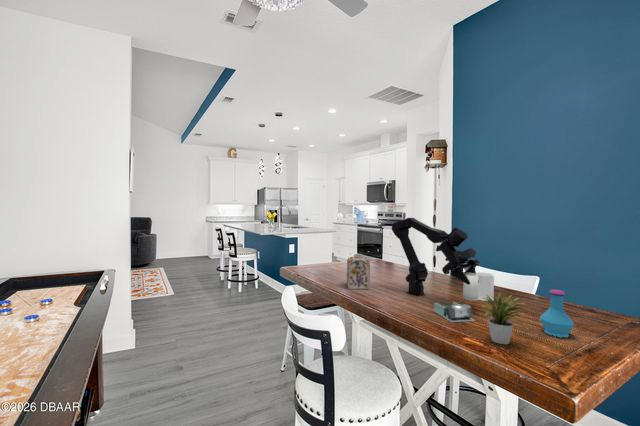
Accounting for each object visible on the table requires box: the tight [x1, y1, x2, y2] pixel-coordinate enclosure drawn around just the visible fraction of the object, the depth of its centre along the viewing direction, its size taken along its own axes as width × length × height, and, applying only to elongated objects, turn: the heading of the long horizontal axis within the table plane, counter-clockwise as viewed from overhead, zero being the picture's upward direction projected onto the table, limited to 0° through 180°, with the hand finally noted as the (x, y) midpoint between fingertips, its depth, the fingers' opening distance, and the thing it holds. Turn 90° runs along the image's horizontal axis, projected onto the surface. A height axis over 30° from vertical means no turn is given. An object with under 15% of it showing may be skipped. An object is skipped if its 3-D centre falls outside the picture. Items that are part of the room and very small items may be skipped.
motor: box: [432, 301, 475, 323], centre depth 120 cm, size 13×10×6 cm
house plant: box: [481, 290, 529, 345], centre depth 96 cm, size 14×14×16 cm
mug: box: [476, 271, 495, 302], centre depth 144 cm, size 12×8×12 cm
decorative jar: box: [346, 253, 371, 290], centre depth 164 cm, size 12×12×18 cm
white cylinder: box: [462, 272, 479, 301], centre depth 125 cm, size 6×6×10 cm
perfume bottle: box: [539, 289, 574, 338], centre depth 104 cm, size 9×9×15 cm
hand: (473, 283), depth 124 cm, fingers closed on white cylinder, 5 cm apart
